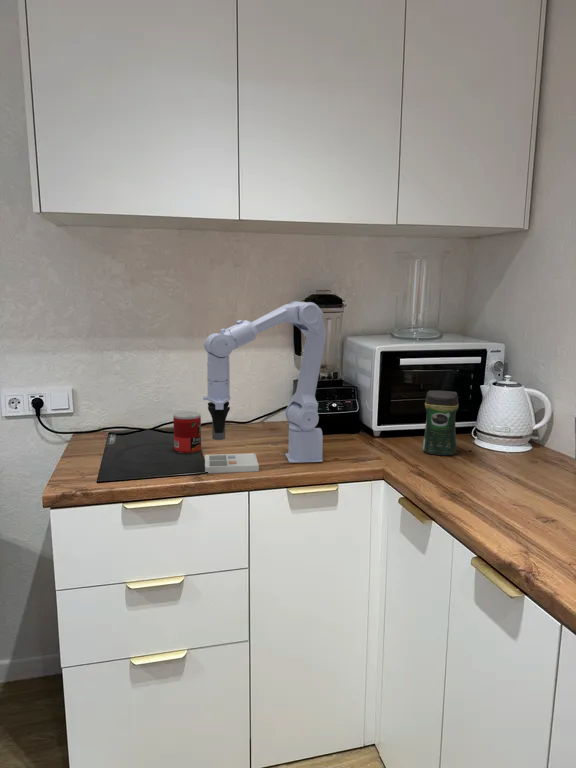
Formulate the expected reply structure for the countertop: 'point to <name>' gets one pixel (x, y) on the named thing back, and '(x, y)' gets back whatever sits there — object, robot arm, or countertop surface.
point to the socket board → (231, 463)
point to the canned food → (187, 431)
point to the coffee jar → (440, 422)
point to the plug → (217, 434)
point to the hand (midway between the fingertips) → (218, 430)
